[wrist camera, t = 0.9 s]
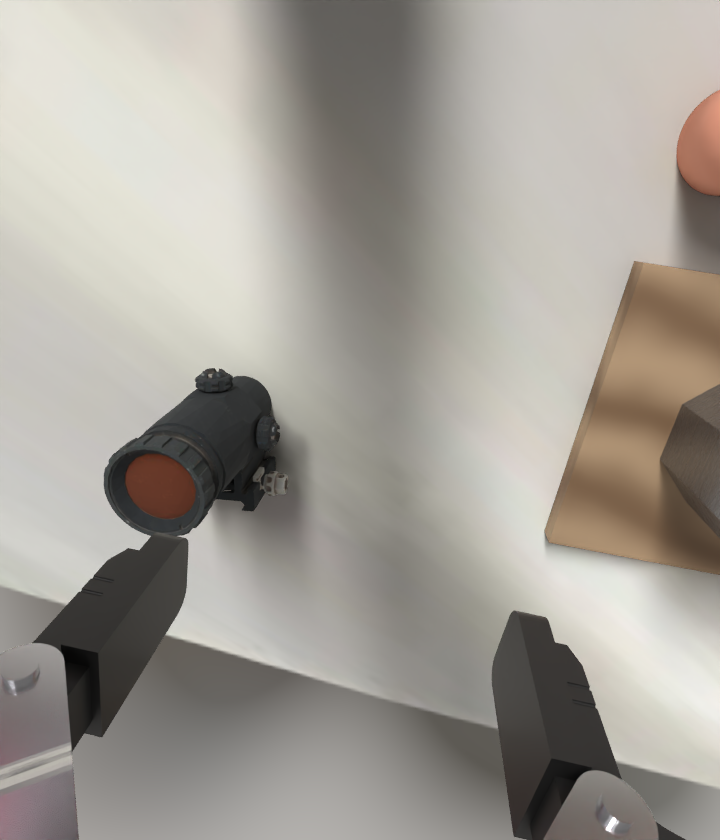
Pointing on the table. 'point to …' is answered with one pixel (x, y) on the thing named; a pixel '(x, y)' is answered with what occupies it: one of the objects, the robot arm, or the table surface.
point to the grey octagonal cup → (697, 455)
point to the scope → (198, 457)
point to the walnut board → (643, 425)
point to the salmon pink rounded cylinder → (701, 147)
